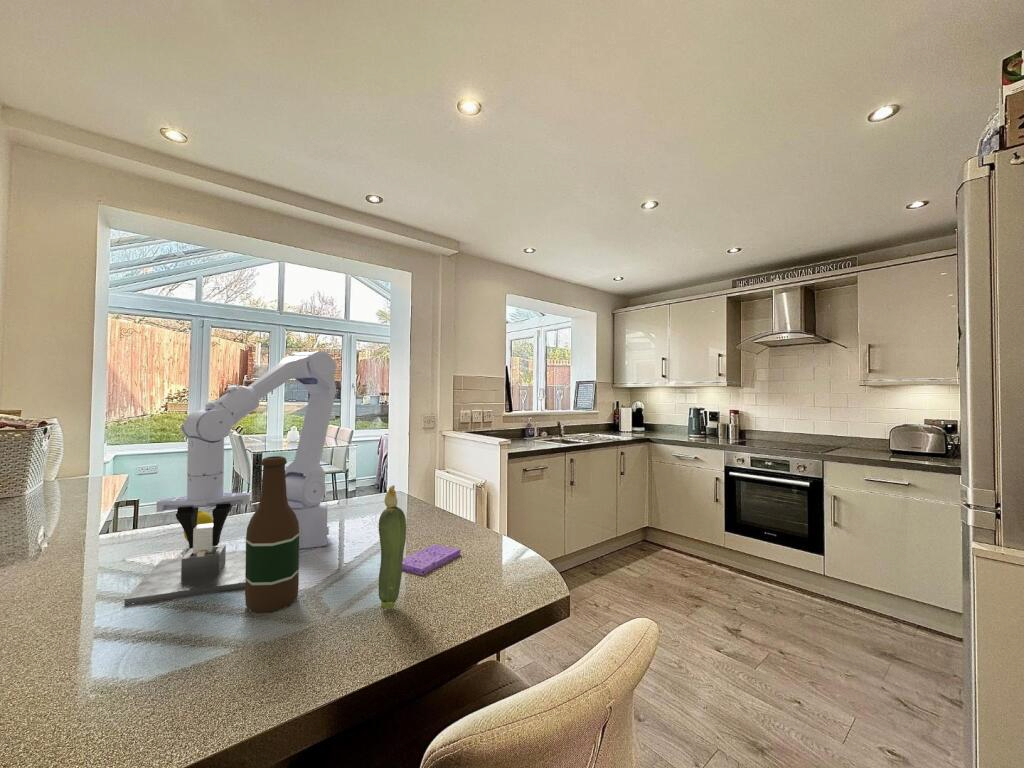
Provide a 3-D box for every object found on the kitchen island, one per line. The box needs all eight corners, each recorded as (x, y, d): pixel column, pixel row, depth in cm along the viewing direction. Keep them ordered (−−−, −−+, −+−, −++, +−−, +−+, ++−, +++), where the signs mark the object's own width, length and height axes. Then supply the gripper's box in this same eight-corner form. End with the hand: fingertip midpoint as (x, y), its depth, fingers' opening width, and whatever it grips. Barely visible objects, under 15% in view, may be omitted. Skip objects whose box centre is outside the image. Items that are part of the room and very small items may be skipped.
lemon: (219, 542, 102) (220, 507, 102) (200, 551, 96) (200, 514, 96) (197, 541, 102) (197, 506, 103) (176, 550, 97) (177, 513, 97)
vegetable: (381, 601, 74) (382, 481, 74) (407, 600, 74) (408, 480, 75) (375, 614, 70) (376, 486, 70) (403, 613, 70) (404, 486, 70)
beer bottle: (308, 596, 76) (310, 455, 76) (270, 618, 68) (272, 462, 69) (273, 589, 78) (275, 452, 79) (233, 609, 71) (235, 459, 71)
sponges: (394, 570, 88) (394, 561, 88) (435, 551, 99) (435, 542, 99) (421, 578, 84) (422, 568, 84) (461, 557, 95) (461, 548, 95)
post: (215, 564, 86) (216, 522, 86) (212, 570, 83) (212, 527, 83) (196, 566, 85) (197, 524, 85) (192, 572, 82) (192, 529, 82)
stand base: (264, 552, 96) (264, 528, 96) (251, 586, 79) (252, 558, 79) (161, 564, 89) (162, 539, 89) (124, 605, 72) (125, 573, 72)
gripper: (150, 480, 78) (149, 558, 77) (246, 474, 83) (245, 547, 83) (164, 473, 84) (163, 545, 84) (252, 468, 90) (251, 535, 90)
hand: (204, 545), depth 84 cm, fingers closed on post, 3 cm apart
